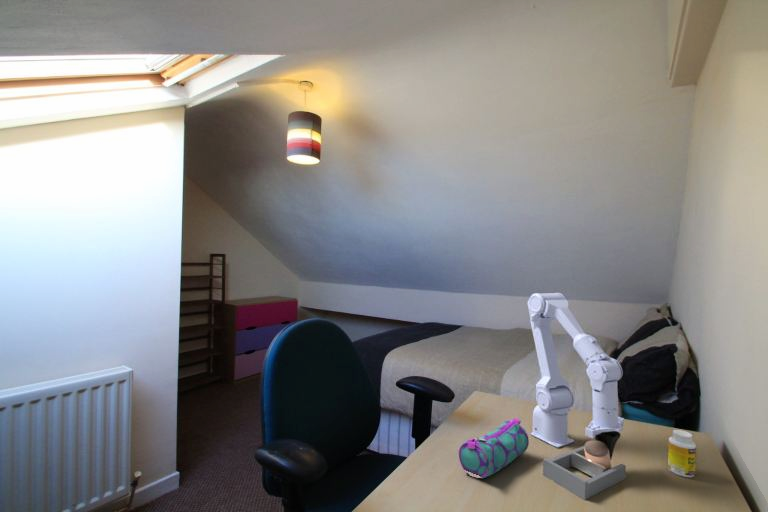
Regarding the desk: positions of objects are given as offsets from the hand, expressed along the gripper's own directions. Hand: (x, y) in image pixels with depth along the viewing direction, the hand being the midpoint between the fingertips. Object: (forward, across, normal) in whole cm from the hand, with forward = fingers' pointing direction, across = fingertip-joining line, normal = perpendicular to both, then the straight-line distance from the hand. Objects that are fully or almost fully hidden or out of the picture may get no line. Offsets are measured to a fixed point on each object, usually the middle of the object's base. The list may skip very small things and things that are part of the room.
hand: (605, 458), depth 99 cm
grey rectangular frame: (+3, -7, +1) cm, 8 cm away
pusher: (+2, -6, +1) cm, 7 cm away
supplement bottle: (+4, +17, -10) cm, 20 cm away
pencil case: (+3, -23, +16) cm, 28 cm away
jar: (+3, -2, +1) cm, 3 cm away
